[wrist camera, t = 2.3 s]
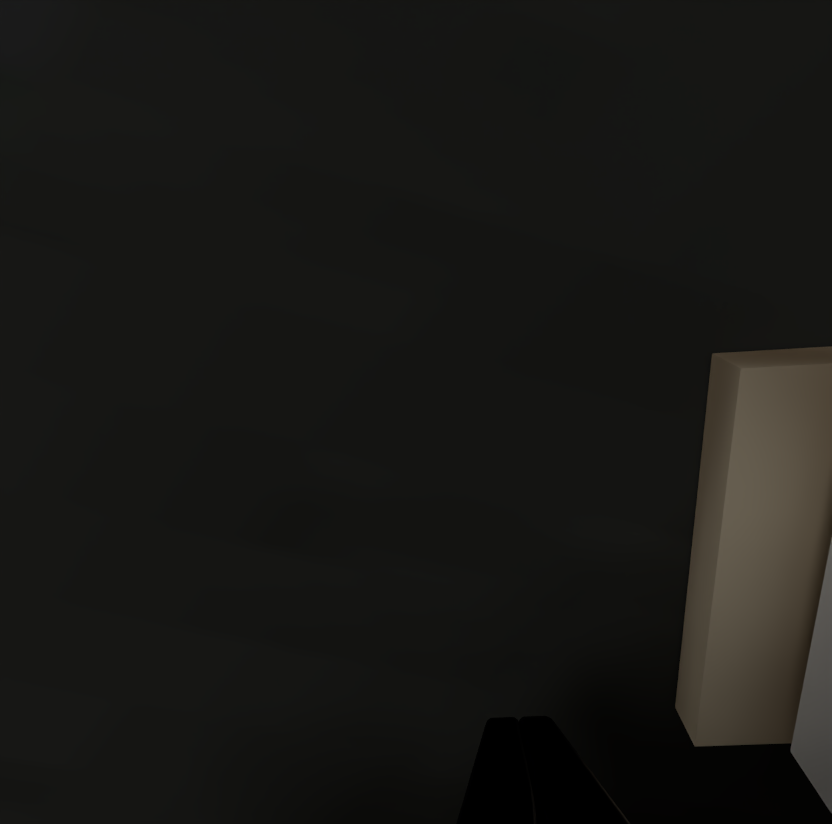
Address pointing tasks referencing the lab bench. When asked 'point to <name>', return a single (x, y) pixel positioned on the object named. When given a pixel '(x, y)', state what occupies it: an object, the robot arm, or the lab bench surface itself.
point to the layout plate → (757, 545)
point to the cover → (818, 700)
